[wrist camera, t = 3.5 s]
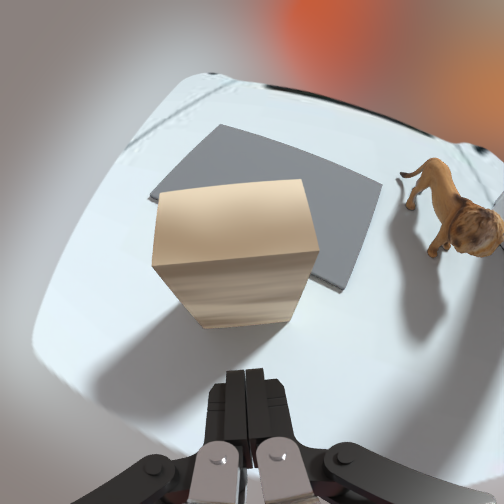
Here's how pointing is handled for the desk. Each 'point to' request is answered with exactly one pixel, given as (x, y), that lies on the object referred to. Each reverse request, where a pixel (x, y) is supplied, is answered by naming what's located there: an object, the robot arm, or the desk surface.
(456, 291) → the desk surface
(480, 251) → the lion figurine
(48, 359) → the desk surface
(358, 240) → the slate mat
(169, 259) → the birch block
